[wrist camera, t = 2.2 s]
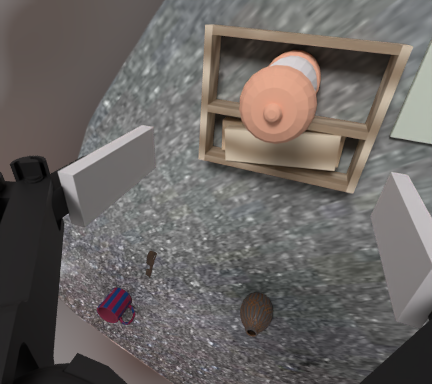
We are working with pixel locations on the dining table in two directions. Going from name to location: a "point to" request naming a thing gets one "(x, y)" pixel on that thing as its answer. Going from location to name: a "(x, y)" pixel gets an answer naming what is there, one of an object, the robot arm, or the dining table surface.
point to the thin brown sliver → (150, 262)
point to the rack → (319, 124)
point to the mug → (115, 306)
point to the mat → (417, 106)
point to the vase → (256, 313)
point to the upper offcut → (283, 149)
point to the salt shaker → (281, 98)
